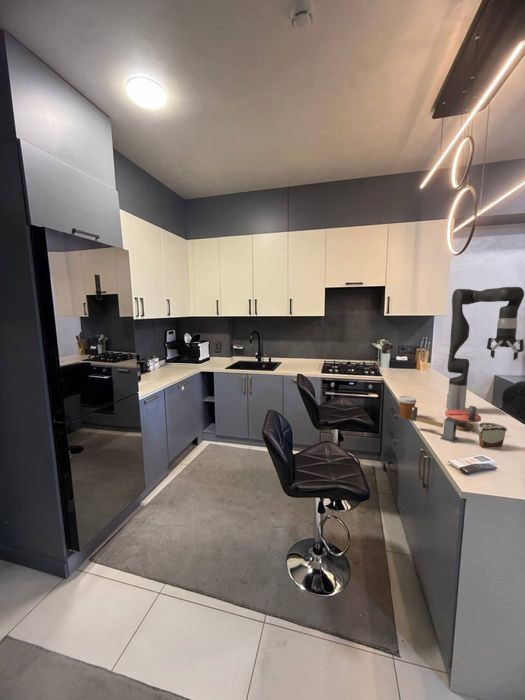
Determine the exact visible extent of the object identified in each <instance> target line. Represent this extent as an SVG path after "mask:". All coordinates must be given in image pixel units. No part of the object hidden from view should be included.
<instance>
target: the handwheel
mask: <svg viewBox="0 0 525 700" xmlns="http://www.w3.org/2000/svg"><path fill="white" fill-rule="evenodd" d="M476 410H477V407H476V406H474V405H469V406H468V410H465V411H464V410H456V409H453V410H445V411H444V412H445V413H444V415H445V416H446V418H447V417H449V418H453V419H457V420H458V424H460V425H466V422H468V423H478V422H481V421H482V416H481V415H480V414H478V413H476V412H477V411H476Z"/></svg>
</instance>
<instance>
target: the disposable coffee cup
mask: <svg viewBox="0 0 525 700" xmlns="http://www.w3.org/2000/svg"><path fill="white" fill-rule="evenodd" d="M398 401H399V411H400V412H399V413H400V418H401V419H403V420H404V419H405V420H411V411H412V407H416V403H417V399H416V397H414V396H410V395H400V396H399V398H398Z"/></svg>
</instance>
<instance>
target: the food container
mask: <svg viewBox="0 0 525 700" xmlns="http://www.w3.org/2000/svg"><path fill="white" fill-rule="evenodd" d="M477 431H478V434H479V435H478V436H479V437H478V438H479V440H478V442H479V447H480V448H482V449H495V448H496V449H497V448H498V449H499V448H501V449H502V448H503V446H504V440H505V437H506V436H505V435H506V432H508V428H507V426H505V425H502V424H499V423H493V422H481V423H479V424H478V426H477Z"/></svg>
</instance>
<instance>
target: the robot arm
mask: <svg viewBox="0 0 525 700" xmlns="http://www.w3.org/2000/svg"><path fill="white" fill-rule="evenodd" d="M524 297H525V291H524V289H523V288H522V287H520V286H503V287H502V286H501V287H497V288H486V289H483V290H475V289H470V288H469V289H467V288H456V289H454V291H453V293H452V297H451V309H452V310H451V311H452V313H451V314H452V316H451V326H450V340H449V341H450V343H449V344H450V346H449V353H448V361H447V371H448V373H453V374H460V375H459V376H456V377H451V378H449V379H448V393H447V394H446V407H445V409H447V410H453V409H456V410H464V411H466V401H467V399H466V398H467V389H468V377H469V376H468V375H469V369H470V360H469V359H467V358H461V357H459V358H458V357H455V356H456V354H457V353H458V351H459V349H460V348H461V347H462V346H463V345H464V344H465V343H466V342H467V340H468V339H469V336H470V325H469V322H468V320H467V318H466V317H465V315H464V312H463V305H465V306H466V305H471V304H472V305H473V304H477V303H484V302H485V303H494V302H508V303H507V304H506V305H505V306H501V307H500V308H499V313H498V320H497V327H496V337H495V338H493V337H488V339H487V345H486V349H487V350H489V351H490V357H491V358H492V359H494V358H495V354H496V350H497V348H498V347H500V348H504V347H505V348H510V349H512V351H513V361H515V360H517V359H518V358H519V353H523V351H524V350H525V349H524V347H525V346H524V345H525V344H524V343H525V339H524V338H523V339H517V329H518V312H519V309H520V306H521V304H522V301H523V300H524ZM493 342H495V343H496V344H495V345H494V346H492V343H493ZM515 343H517V344H518V345H519V349H518V348H517V347H516V345H515ZM447 410H446V411H447Z"/></svg>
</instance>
